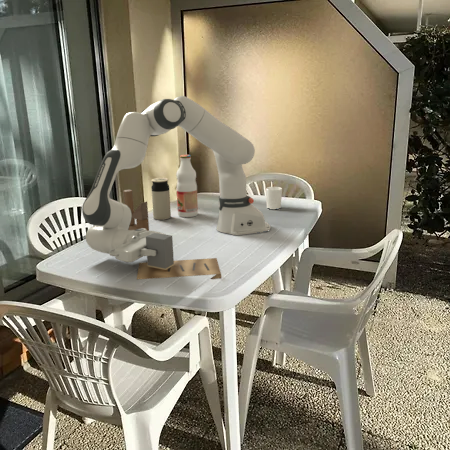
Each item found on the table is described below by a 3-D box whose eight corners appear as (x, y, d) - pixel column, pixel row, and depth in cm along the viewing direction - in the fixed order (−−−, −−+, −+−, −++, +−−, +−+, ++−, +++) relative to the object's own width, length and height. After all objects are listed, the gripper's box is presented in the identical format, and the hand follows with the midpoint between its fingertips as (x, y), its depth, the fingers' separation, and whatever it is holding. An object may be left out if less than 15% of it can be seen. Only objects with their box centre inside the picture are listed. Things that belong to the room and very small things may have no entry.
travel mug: (169, 220, 209) (167, 181, 204) (152, 220, 209) (149, 181, 204) (171, 215, 216) (169, 177, 211) (155, 215, 217) (152, 177, 211)
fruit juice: (194, 218, 211) (192, 157, 203) (175, 217, 213) (172, 156, 205) (200, 212, 220) (198, 153, 212) (181, 211, 222) (178, 153, 214)
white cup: (282, 210, 221) (282, 190, 218) (266, 210, 222) (266, 190, 219) (280, 206, 229) (281, 186, 226) (265, 206, 229) (265, 186, 226)
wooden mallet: (143, 237, 185) (140, 193, 180) (124, 233, 191) (121, 190, 186) (149, 235, 188) (146, 192, 183) (131, 231, 194) (127, 189, 189)
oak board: (216, 262, 158) (216, 257, 157) (221, 278, 144) (221, 273, 144) (139, 266, 155) (139, 262, 154) (137, 283, 141) (136, 279, 141)
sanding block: (147, 266, 148) (145, 236, 145) (156, 261, 152) (154, 232, 149) (165, 269, 145) (163, 239, 142) (173, 265, 148) (172, 235, 146)
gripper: (105, 244, 143) (140, 250, 137) (145, 226, 160) (179, 231, 154) (107, 263, 145) (142, 270, 138) (147, 243, 162) (180, 249, 156)
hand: (162, 249), depth 146 cm, fingers closed on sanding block, 4 cm apart
